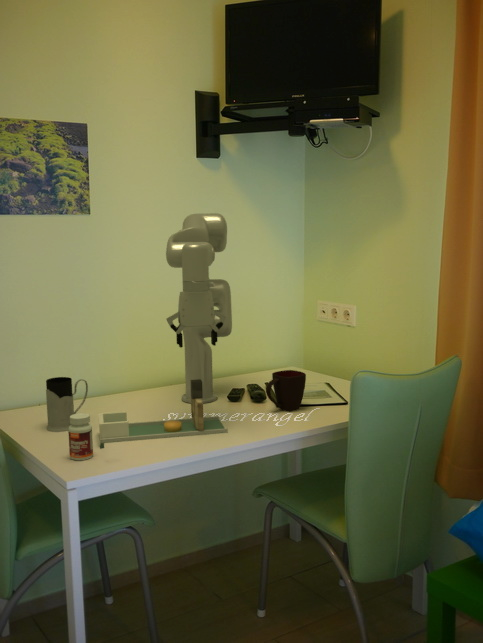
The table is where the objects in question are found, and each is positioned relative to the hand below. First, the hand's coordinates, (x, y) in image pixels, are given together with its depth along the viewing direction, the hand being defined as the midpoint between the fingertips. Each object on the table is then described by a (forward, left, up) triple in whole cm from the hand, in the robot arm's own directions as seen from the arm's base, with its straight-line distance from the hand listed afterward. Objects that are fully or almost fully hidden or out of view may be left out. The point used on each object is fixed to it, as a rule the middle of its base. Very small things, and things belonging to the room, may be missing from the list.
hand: (197, 345), depth 192 cm
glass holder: (-18, -38, -26) cm, 49 cm away
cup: (-17, +31, -26) cm, 44 cm away
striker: (0, 0, -24) cm, 24 cm away
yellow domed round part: (0, -8, -25) cm, 26 cm away
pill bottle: (+12, -34, -26) cm, 44 cm away
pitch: (0, -11, -26) cm, 28 cm away
